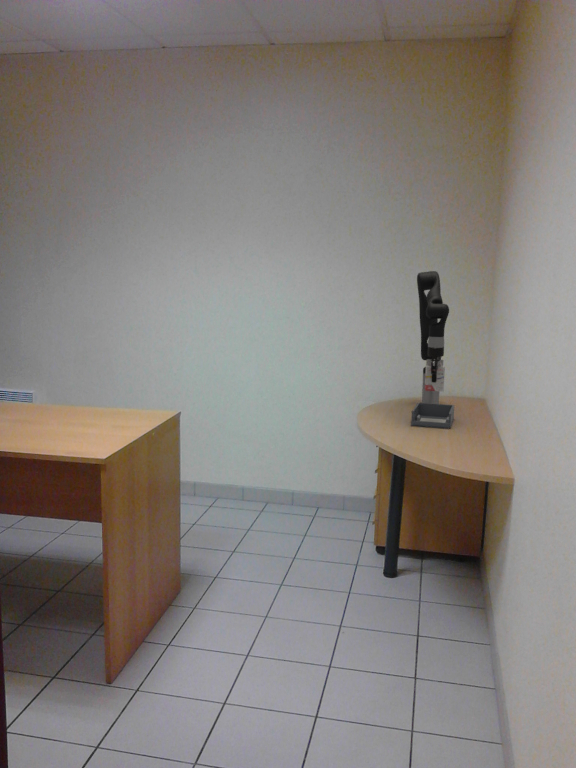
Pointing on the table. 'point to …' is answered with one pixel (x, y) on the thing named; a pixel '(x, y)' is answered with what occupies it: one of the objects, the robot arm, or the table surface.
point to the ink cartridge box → (439, 381)
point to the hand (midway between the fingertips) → (434, 381)
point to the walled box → (432, 415)
